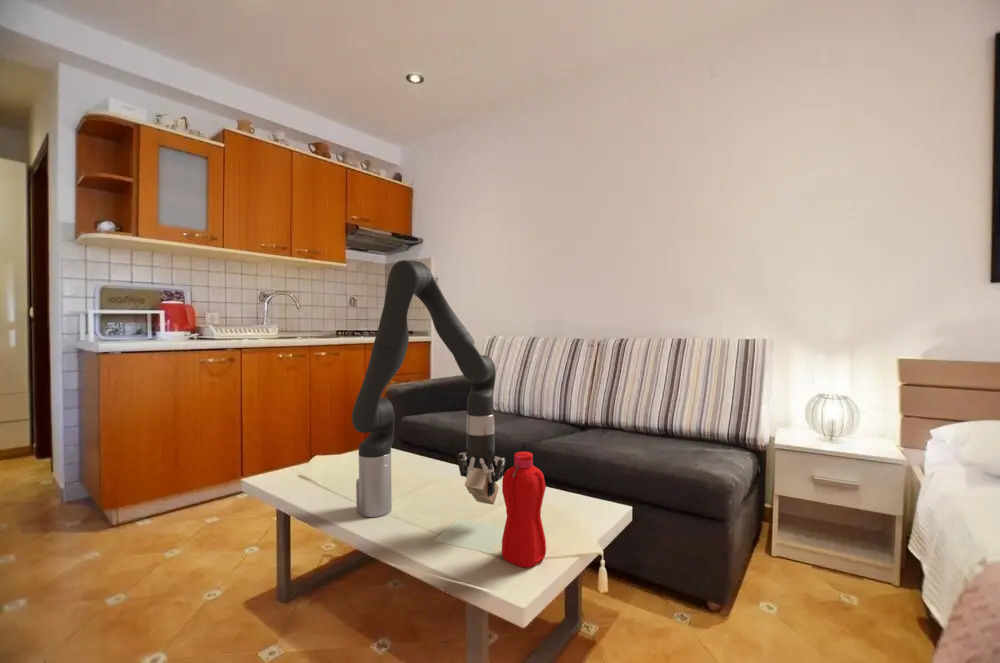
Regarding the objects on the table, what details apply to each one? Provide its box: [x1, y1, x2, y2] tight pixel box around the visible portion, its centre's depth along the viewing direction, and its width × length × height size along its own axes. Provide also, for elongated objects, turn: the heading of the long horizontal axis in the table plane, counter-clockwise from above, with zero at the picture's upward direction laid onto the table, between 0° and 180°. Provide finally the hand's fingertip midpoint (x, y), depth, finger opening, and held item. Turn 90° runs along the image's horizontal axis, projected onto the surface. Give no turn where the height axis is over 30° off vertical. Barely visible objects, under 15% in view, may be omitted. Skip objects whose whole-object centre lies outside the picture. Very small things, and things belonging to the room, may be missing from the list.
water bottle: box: [501, 451, 547, 568], centre depth 107 cm, size 9×11×25 cm
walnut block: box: [463, 468, 500, 505], centre depth 123 cm, size 5×5×10 cm
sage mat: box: [433, 518, 505, 555], centre depth 119 cm, size 16×14×1 cm
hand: (481, 493), depth 122 cm, fingers closed on walnut block, 5 cm apart
